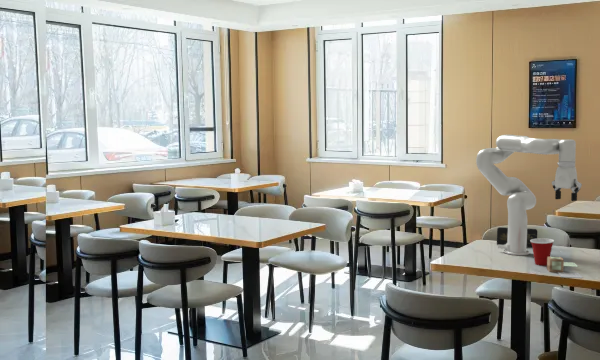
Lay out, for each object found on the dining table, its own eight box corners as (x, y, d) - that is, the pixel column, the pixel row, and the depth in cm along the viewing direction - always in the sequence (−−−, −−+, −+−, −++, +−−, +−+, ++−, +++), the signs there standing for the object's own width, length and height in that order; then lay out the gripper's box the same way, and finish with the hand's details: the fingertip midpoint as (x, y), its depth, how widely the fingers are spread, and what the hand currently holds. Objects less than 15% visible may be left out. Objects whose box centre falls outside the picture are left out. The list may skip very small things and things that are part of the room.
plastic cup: (525, 262, 317) (526, 237, 316) (546, 261, 318) (547, 237, 317) (535, 267, 306) (536, 241, 305) (557, 266, 307) (558, 241, 306)
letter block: (549, 272, 296) (549, 258, 296) (546, 269, 302) (547, 256, 302) (563, 273, 295) (563, 259, 294) (560, 270, 301) (561, 256, 300)
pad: (558, 265, 309) (558, 265, 309) (554, 262, 318) (554, 261, 318) (578, 266, 308) (578, 266, 308) (574, 262, 316) (574, 262, 316)
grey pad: (561, 277, 286) (561, 276, 286) (557, 272, 295) (557, 272, 295) (583, 278, 285) (583, 277, 285) (578, 273, 294) (578, 273, 293)
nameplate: (536, 246, 358) (537, 228, 358) (536, 247, 357) (537, 229, 356) (496, 245, 363) (497, 227, 362) (496, 245, 361) (497, 227, 360)
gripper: (547, 164, 323) (546, 198, 325) (575, 165, 308) (574, 202, 309) (558, 164, 327) (557, 198, 328) (587, 165, 311) (586, 201, 312)
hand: (565, 200), depth 318 cm, fingers open, 9 cm apart
